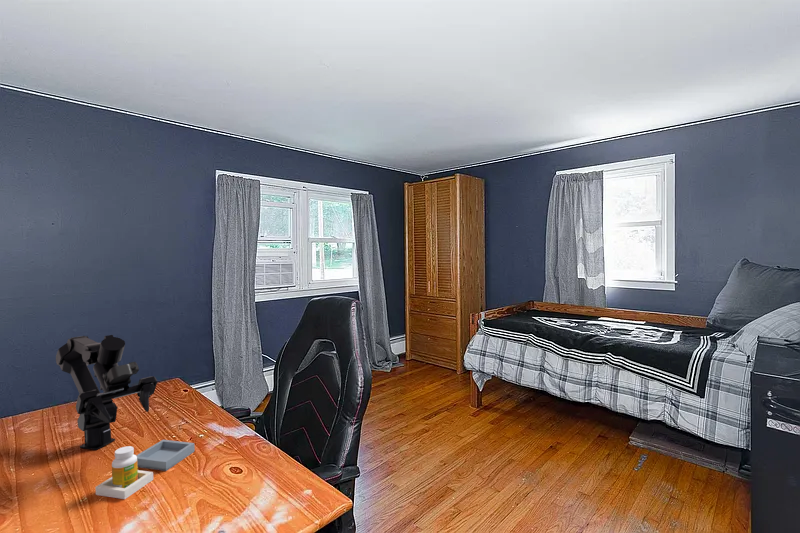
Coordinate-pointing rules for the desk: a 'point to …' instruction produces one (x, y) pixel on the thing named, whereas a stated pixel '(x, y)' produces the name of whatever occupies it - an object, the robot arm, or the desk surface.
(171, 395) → the desk surface
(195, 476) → the desk surface
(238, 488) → the desk surface
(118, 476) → the supplement bottle
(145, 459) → the tray
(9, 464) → the desk surface
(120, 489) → the holder collar
